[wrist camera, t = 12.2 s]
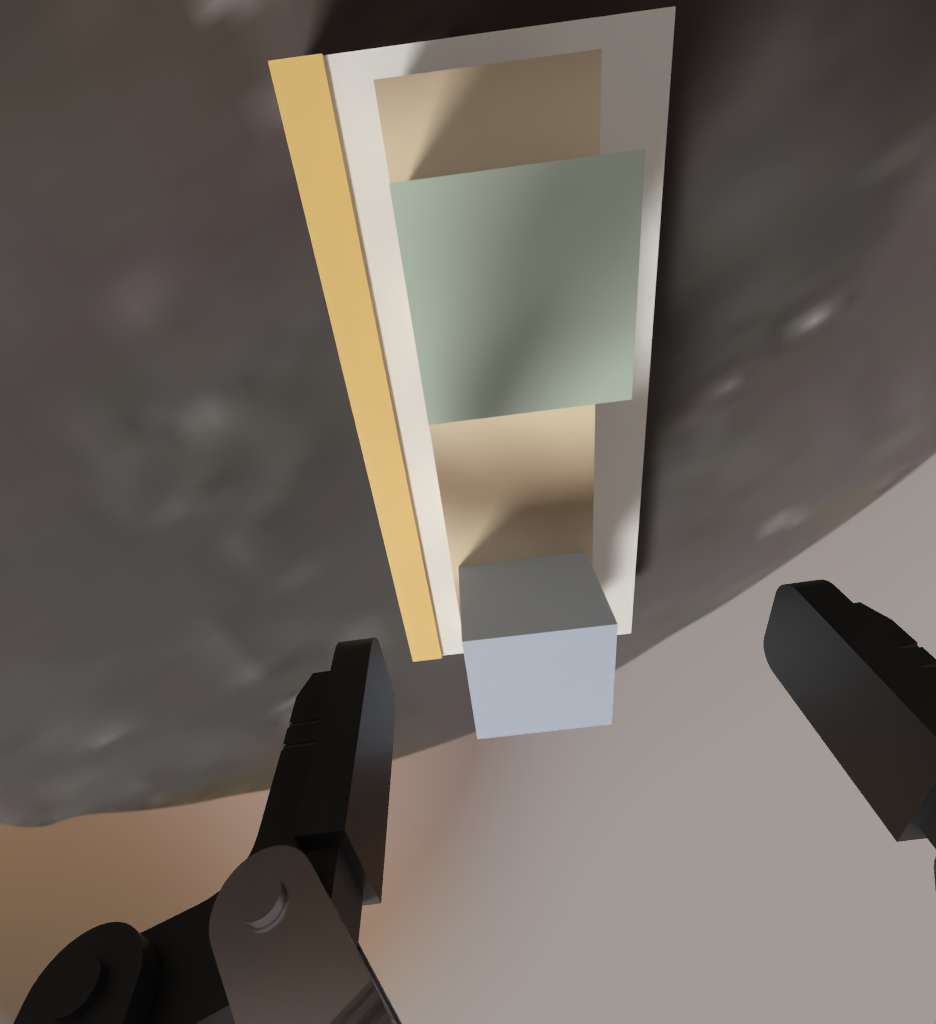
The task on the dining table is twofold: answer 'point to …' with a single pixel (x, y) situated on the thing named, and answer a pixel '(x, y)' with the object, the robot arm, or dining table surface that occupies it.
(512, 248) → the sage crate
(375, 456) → the dock
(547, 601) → the block
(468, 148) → the pallet
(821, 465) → the dining table surface
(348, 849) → the robot arm
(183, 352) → the dining table surface
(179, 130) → the dining table surface
